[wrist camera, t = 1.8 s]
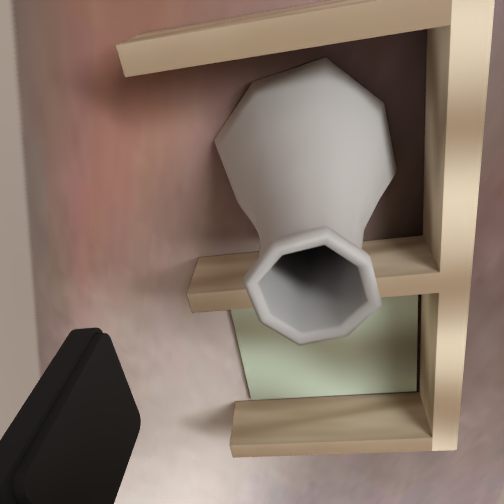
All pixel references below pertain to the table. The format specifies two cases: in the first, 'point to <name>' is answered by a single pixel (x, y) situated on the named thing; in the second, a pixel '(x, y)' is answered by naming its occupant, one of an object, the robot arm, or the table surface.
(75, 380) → the robot arm
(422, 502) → the table surface
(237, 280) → the comb rack
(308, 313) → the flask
